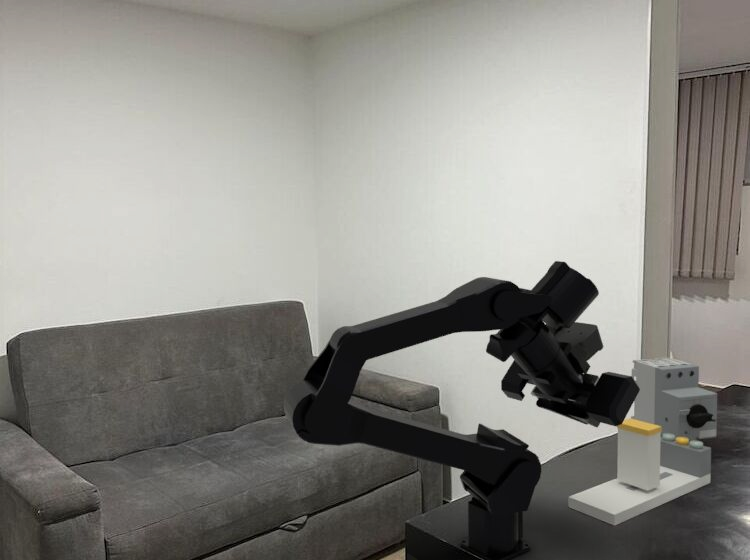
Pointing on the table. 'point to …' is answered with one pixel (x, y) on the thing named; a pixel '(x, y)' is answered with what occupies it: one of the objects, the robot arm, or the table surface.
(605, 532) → the table surface
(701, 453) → the long white slab
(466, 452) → the robot arm
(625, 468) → the handle
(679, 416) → the circuit breaker
